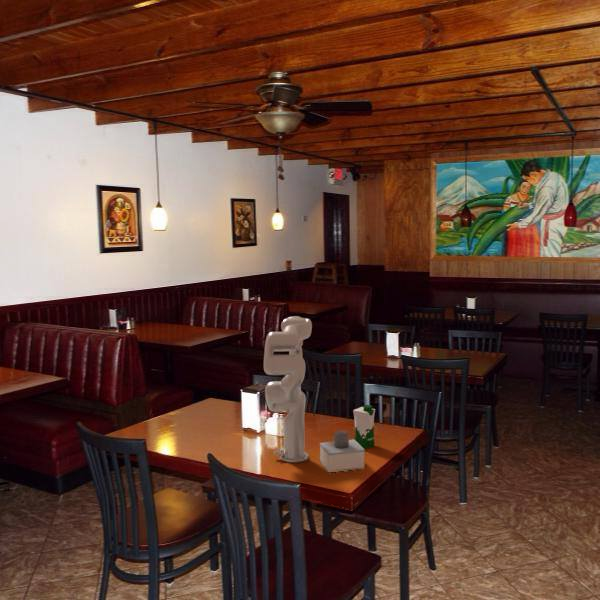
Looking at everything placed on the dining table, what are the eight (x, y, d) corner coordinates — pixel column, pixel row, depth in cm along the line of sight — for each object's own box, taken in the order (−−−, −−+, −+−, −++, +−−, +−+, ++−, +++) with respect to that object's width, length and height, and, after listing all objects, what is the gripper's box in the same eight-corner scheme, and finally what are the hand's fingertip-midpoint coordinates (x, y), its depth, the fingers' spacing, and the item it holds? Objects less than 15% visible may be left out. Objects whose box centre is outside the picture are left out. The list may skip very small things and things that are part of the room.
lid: (328, 455, 261) (328, 453, 261) (319, 444, 275) (319, 442, 275) (364, 451, 265) (364, 449, 265) (354, 441, 279) (354, 439, 279)
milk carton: (367, 450, 289) (366, 409, 287) (351, 446, 295) (350, 406, 293) (377, 445, 296) (376, 404, 294) (361, 441, 302) (361, 401, 300)
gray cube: (336, 449, 266) (336, 435, 266) (332, 444, 272) (332, 431, 272) (350, 447, 268) (350, 434, 267) (346, 443, 274) (346, 430, 273)
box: (328, 473, 262) (328, 455, 262) (320, 461, 276) (319, 444, 275) (364, 469, 266) (364, 451, 265) (354, 458, 280) (353, 441, 279)
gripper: (306, 344, 289) (307, 379, 291) (298, 338, 306) (299, 372, 308) (291, 345, 288) (292, 381, 289) (283, 339, 304) (284, 373, 306)
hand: (295, 376), depth 299 cm, fingers open, 9 cm apart
